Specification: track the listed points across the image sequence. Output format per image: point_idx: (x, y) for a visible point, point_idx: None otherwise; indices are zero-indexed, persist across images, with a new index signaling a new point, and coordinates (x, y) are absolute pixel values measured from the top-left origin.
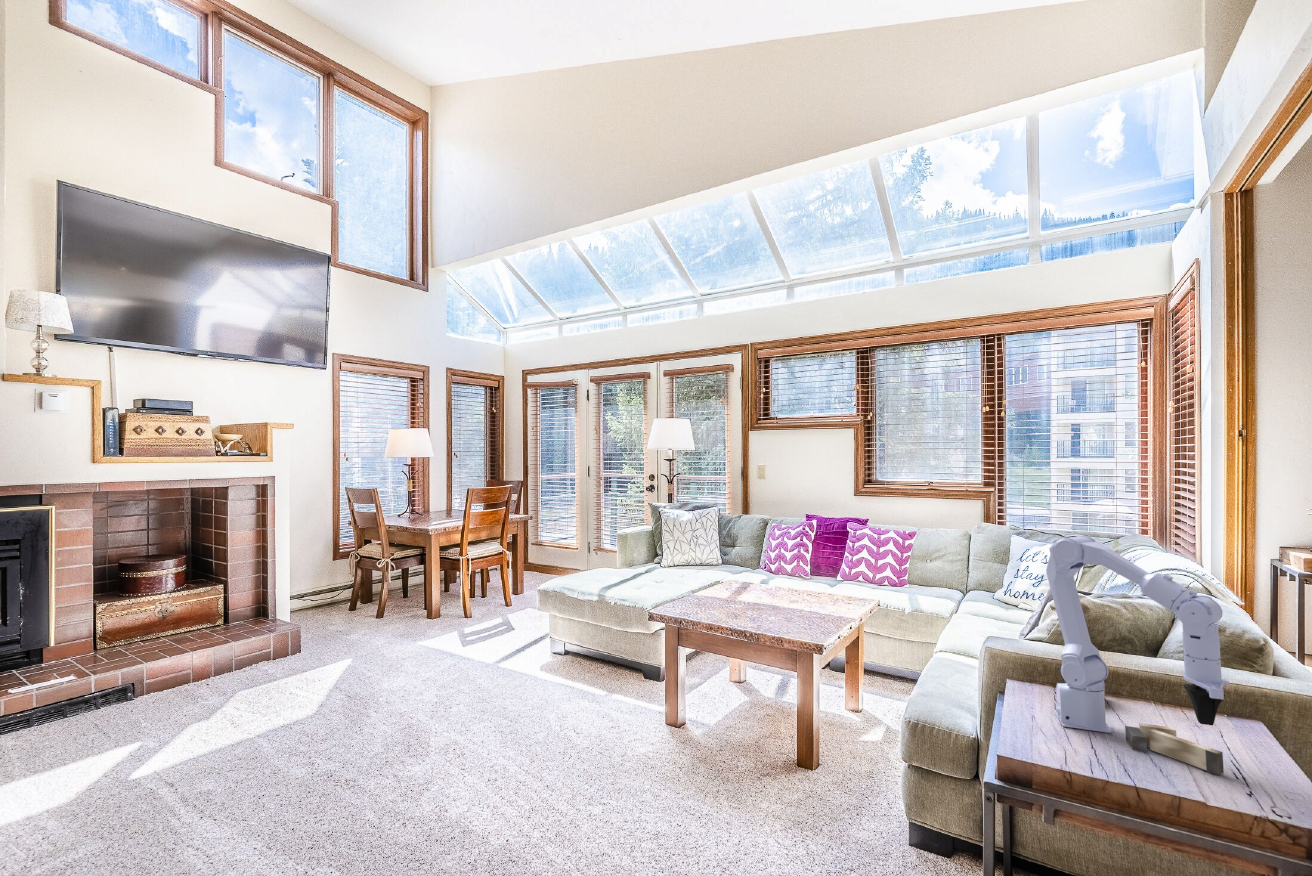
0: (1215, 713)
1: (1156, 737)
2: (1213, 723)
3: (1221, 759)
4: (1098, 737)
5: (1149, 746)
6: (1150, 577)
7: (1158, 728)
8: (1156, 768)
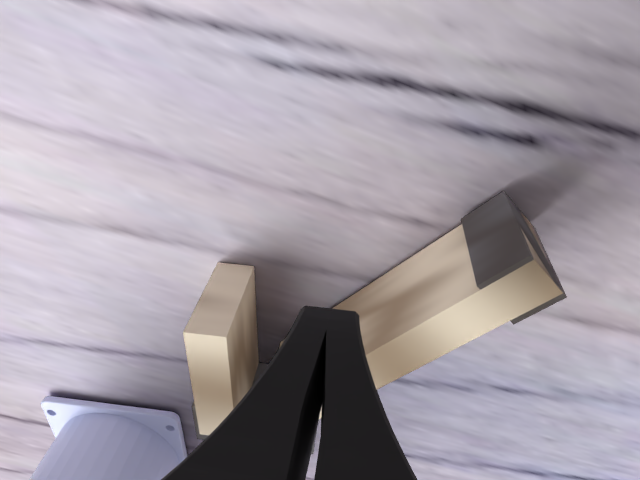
0: (376, 392)
1: None
2: (357, 320)
3: (527, 239)
4: None
5: (257, 346)
6: None
7: (233, 390)
8: (493, 395)
